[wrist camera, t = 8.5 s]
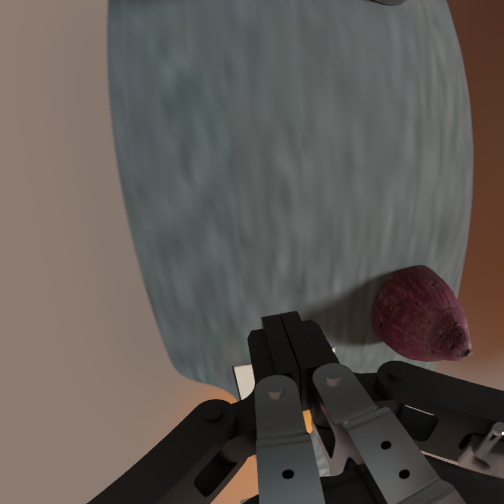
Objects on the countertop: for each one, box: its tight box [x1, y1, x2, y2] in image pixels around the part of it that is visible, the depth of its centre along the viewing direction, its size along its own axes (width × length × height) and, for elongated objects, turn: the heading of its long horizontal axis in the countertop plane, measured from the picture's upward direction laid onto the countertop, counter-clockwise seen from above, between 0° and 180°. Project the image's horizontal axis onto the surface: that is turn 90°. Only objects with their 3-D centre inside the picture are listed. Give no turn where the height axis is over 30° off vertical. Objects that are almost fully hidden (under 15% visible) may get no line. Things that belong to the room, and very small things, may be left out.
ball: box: [303, 410, 313, 433], centre depth 32 cm, size 6×6×6 cm
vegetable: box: [372, 265, 472, 362], centre depth 25 cm, size 10×10×15 cm
